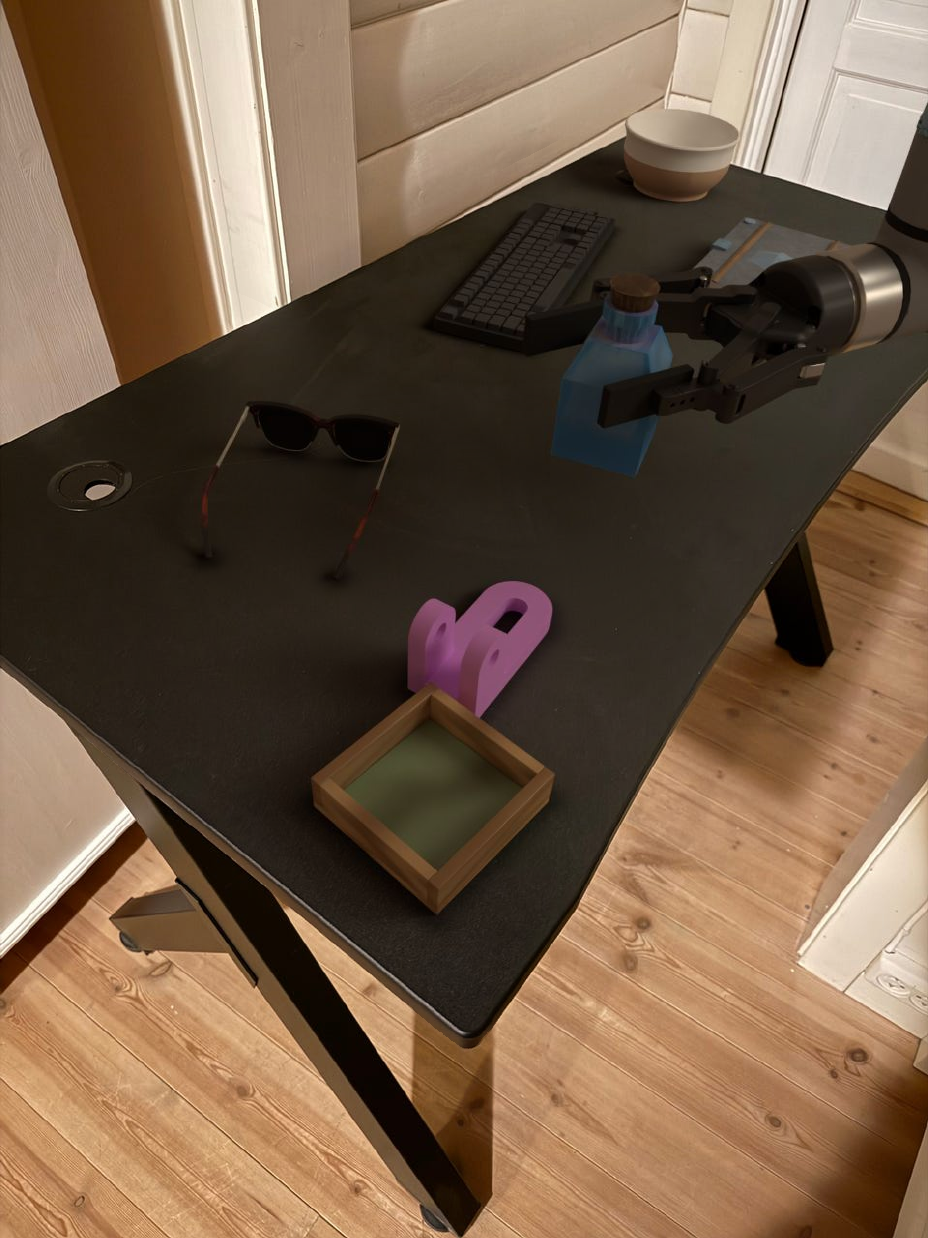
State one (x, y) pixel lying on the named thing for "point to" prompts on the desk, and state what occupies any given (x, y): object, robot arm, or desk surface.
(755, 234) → the book
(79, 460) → the desk surface
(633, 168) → the bowl
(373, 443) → the sunglasses
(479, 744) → the holder
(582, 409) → the blue bottle with cork
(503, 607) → the bracket
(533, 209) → the keyboard
